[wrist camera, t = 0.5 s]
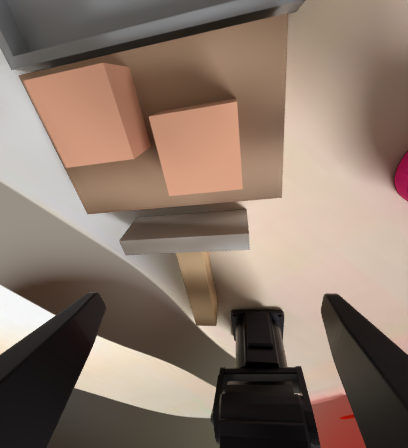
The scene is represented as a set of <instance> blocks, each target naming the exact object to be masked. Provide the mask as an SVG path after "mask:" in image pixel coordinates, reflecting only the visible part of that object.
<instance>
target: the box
mask: <svg viewBox="0 0 408 448" xmlns="http://www.w3.org/2000/svg"><path fill="white" fill-rule="evenodd" d="M304 1H305V0H0V48H1V50H2V52H3V54H4V56H5V58H6V60H7V62H8V64H9V66H10V68H11V70H23V71H40V70H45V69H49V68H53V67H58V66H62V65H66V64H71V63H75V62H79V61H83V60H88V59H92V58H96V57H101V56H105V55H109V54H114V53H118V52H122V51H127V50H131V49H135V48H140V47H144V46H148V45H153V44H157V43H161V42H166V41H170V40H174V39H179V38H183V37H187V36H192V35H196V34H200V33H205V32H209V31H213V30H217V29H222V28H226V27H230V26H235V25H239V24H243V23H248V22H252V21H256V20H261V19H265V18H269V17H274V16H278V15H282V14H287V13H292V12H296V11H297V10H298V9H299V7H300V6H301V5H302V4H303V3H304Z"/></svg>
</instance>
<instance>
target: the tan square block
mask: <svg viewBox="0 0 408 448" xmlns="http://www.w3.org/2000/svg"><path fill="white" fill-rule="evenodd" d="M149 120H150V124H151V128H152V132H153V135H154V139H155V143H156V147H157V151H158V155H159V159H160V162H161V166H162V170H163V174H164V178H165V182H166V185H167V189H168V193H169V196H177V195H187V194H198V193H208V192H219V191H230V190H240V189H243V184H242V169H241V154H240V139H239V123H238V108H237V98H236V99H230V100H224V101H219V102H213V103H207V104H201V105H195V106H189V107H183V108H178V109H172V110H166V111H162V112H160V113H157V114H154V115H151V116H149Z"/></svg>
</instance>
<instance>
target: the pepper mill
mask: <svg viewBox="0 0 408 448" xmlns="http://www.w3.org/2000/svg"><path fill="white" fill-rule="evenodd" d="M395 186H396V190H397V192H398V193H399V195H400V196H401V197H402V198H403V199H405V200H406V201H408V152H407V153H406V154H405V155H404V157H403V159H402V160H401V162H400V163H399V165H398V167H397V171H396V175H395Z"/></svg>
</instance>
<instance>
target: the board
mask: <svg viewBox="0 0 408 448" xmlns="http://www.w3.org/2000/svg"><path fill="white" fill-rule="evenodd" d="M287 30H288V13H287V14H282V15H278V16H274V17H269V18H265V19H261V20H256V21H252V22H248V23H243V24H239V25H235V26H230V27H226V28H222V29H217V30H213V31H209V32H205V33H200V34H196V35H192V36H187V37H183V38H179V39H174V40H170V41H166V42H161V43H157V44H153V45H148V46H144V47H140V48H135V49H131V50H127V51H122V52H118V53H114V54H109V55H105V56H101V57H96V58H92V59H88V60H83V61H79V62H75V63H71V64H66V65H62V66H58V67H53V68H49V69H45V70H40V71H36V72H32V73H27V74H23V75H19V78H20V80H21V82H22V84H23V86H24V88H25V90H26V92H27V94H28V96H29V98H30V100H31V102H32V104H33V106H34V108H35V110H36V112H37V114H38V116H39V118H40V120H41V122H42V124H43V126H44V128H45V130H46V132H47V134H48V136H49V138H50V140H51V142H52V144H53V146H54V148H55V150H56V152H57V154H58V156H59V158H60V160H61V162H62V164H63V166H64V168H65V170H66V172H67V174H68V176H69V178H70V180H71V182H72V184H73V186H74V188H75V190H76V192H77V194H78V196H79V198H80V200H81V202H82V204H83V206H84V208H85V210H86V212H87V214H96V213H107V212H119V211H131V210H142V209H154V208H166V207H177V206H189V205H201V204H213V203H224V202H236V201H248V200H259V199H271V198H282V172H283V143H284V115H285V87H286V58H287ZM100 63H108V64H114V65H120V66H126V67H129V68H130V72H131V75H132V79H133V83H134V86H135V90H136V94H137V97H138V101H139V105H140V108H141V112H142V116H143V119H144V123H145V127H146V130H147V134H148V138H149V141H150V145H151V147H150V148H148V149H147V150H146V151H144V152H143V153H142V154H140V155H139V156H137V157H136V158H135V159H130V160H123V161H115V162H107V163H100V164H92V165H85V166H77V167H70V168H66V167H65V165H64V163H63V161H62V159H61V157H60V155H59V153H58V151H57V149H56V147H55V145H54V143H53V141H52V139H51V136H50V134H49V132H48V130H47V128H46V126H45V124H44V122H43V120H42V118H41V116H40V114H39V112H38V110H37V108H36V106H35V104H34V102H33V100H32V98H31V96H30V94H29V92H28V90H27V88H26V86H25V84H24V82H23V81H24V80H28V79H33V78H37V77H42V76H46V75H51V74H55V73H60V72H64V71H68V70H73V69H77V68H82V67H86V66H91V65H95V64H100ZM236 98H237V108H238V123H239V139H240V154H241V169H242V184H243V189H240V190H230V191H219V192H208V193H198V194H187V195H177V196H169V193H168V189H167V185H166V182H165V178H164V174H163V170H162V166H161V162H160V159H159V155H158V151H157V147H156V143H155V139H154V135H153V132H152V128H151V124H150V120H149V116H151V115H154V114H157V113H160V112H162V111H166V110H172V109H178V108H183V107H189V106H195V105H201V104H207V103H213V102H219V101H224V100H230V99H236Z"/></svg>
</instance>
